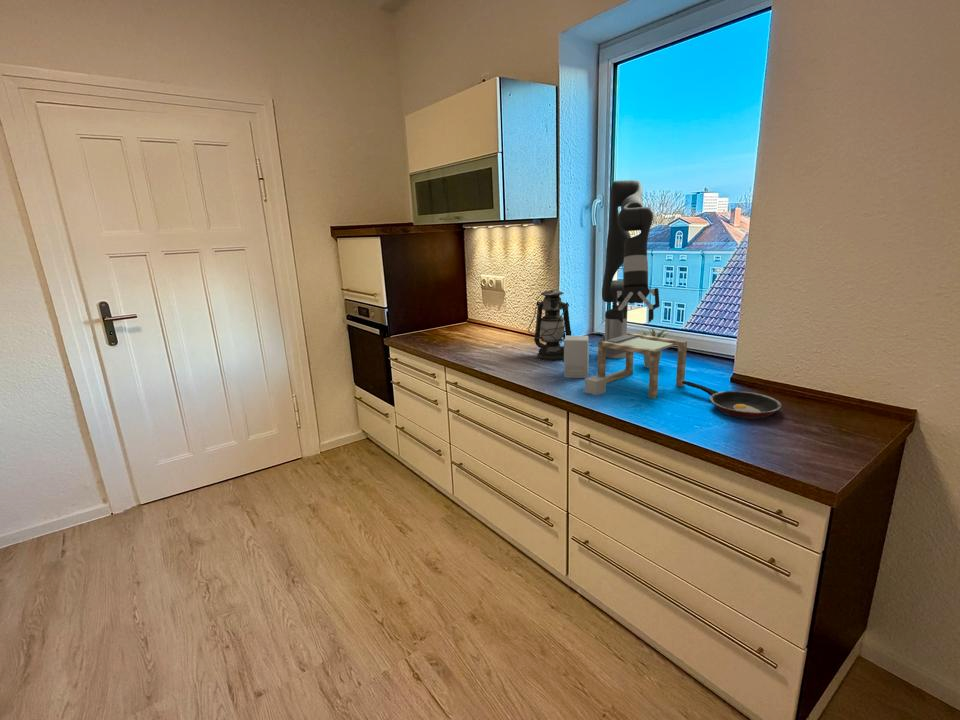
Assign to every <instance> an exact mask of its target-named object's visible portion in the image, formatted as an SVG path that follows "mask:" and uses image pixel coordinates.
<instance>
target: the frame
mask: <svg viewBox="0 0 960 720" xmlns="http://www.w3.org/2000/svg"><path fill="white" fill-rule="evenodd" d="M626 335H632V336H636V338H638V337H641V339H647V340H654V341H660V342H666V343H673V346H677V347H678V348H677V359H676V360H677V362H676V377H675V378H676V379H675V380H676V382H675V386H676V387H680V388H681V387H684V386H685V384H683V383H682V381H686V380H685V379H686V364H687V363H686V362H687V348H688V341H686V340H681V339H680V340H679V339H673V338H666V337H663V338H662V337H661V336H660V337H657V336H655V337H654V336H652V335H648V334H647V335H644V334H639V333H638V334H637V333H635V332H634V333H633V332H627V334H626ZM606 347H607V348H613V349H618V350H624V351H628V352H626V357H625V366H624V367H625V369H622V370H619V371H616V372H613V373H610V374H607V375H606V367H607V366H606V363H607V362H606V361H607V360H606V359H607V357H606ZM659 351H661V350H654V349H648V348H642V347H636V346H631V345H625V344H619V343H613V342H607V341H603V339H602V340H599V341H597V374H596V376H598V377H602V378H606V384H609V383H612V382H615V381H617V380H620V379H623V378H625V376H626V377H628V375H629V376H631V375H633V374H634V353H635V354H640V355H643V354H645V355H650V368H649V377H648V394H647V395H648V397H647V398H649V397H650V398H649V399H653V398H654V399H656V397H658V387H659V369H660V368H659V367H660V366H659V365H660V362H659ZM614 380H615V381H614Z"/></svg>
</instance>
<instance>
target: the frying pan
mask: <svg viewBox="0 0 960 720" xmlns="http://www.w3.org/2000/svg"><path fill="white" fill-rule="evenodd" d="M682 383H683V384H684V386H688V387H692V388H696V389H699V390H701V391H703V392H705V393H706V394H708V395H709V396H710V397H709V399H710V401H711V403H712V404H713V405H714V406H715V407H716V409H718V410H719V411H720V412H721V413H723V414H726V415H728V416H731V417H735V418H740V419H741V418H742V419H749V420H750V419H751V420H756V419H758V420H759V419H764V418H767V417H769V416H772V415H773V414H775V413H777V411H779V410H780V409H781V407H782V403H781V402H780V401H779V400H778V399H775V398H774V397H771V396H768V395H765V394H761V393H757V392H752V391H751V392H750V391H741V390H727V391H726V390H725V391H717V390H715V389H712V388H709V387H708V386H704V385H701V384H698V383H696V382H692V381H691V382H690V381H688V380H687V381H686V380H685V381H682Z"/></svg>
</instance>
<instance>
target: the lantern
mask: <svg viewBox="0 0 960 720" xmlns="http://www.w3.org/2000/svg"><path fill="white" fill-rule="evenodd" d="M563 294H565V292H563V291H560V290H552V289H551V290H546V291H543V292H541V293H540V295H542V296H544V297H543V300H542V301H539V300H537V301H536V306H535V309H534V315H533V317H532V319H531V322H530V324H529V327H528V330H527V332H528V333H529V334H531V335H534V337H533V342H534V343H535V345H536V346H537V347H538V353H537V354H536V359H537V358H538V359H537V360H539V359H540V360H539V361H543V360H544V362H561V360H562V361H564V345H561V344H562V342H564V339H565V337H566V336H572V329H571V321H570V313H569V306H570V304H569V302H568V301H567V302H566V303H565V302H564V301H562V298H561V296H562V295H563ZM561 310H562V313H561ZM543 311H544V316H543ZM535 316H536V322H535V330H534V331H535V332H534V333H532V332H531V331H530V329H531V326H532V324H533V321H534V319H535ZM542 342H543V343H542ZM544 342H545V343H544Z"/></svg>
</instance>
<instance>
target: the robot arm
mask: <svg viewBox="0 0 960 720" xmlns="http://www.w3.org/2000/svg"><path fill="white" fill-rule="evenodd" d="M609 195H610V196H609V220H608V221H609V222H608V231H607V239H606V250H605V253H606V254H605V266H604V276H603V280H602V288H601V297H602V301H603V302H605V303H612V307H611V308H609V309H608V310H605V313H604V333H603V334H602V341H606V340H609V339H612V338H616V337H620V336H623V335H626V334H627V333H628V332H627V331H628V305H629V304H632V305H633V304H642V303H644V304H645V305H646V307H647V308H648V323H651V322H652V321H654V316H655V315H654V312H655V311H654V310H656V309H657V308H660V296H659V295H660V294H659V293H660V291H659V288H658V287H656V288H652V289H650V288H649V261H648V239H649V233H650V230H651V226H652V224H653V220H654V212H653V210H652V209H651V208H650V207H647V206H644V204H643V187H642V183H641V182H640V181H639V180H637V179H636V180H635V179H633V180H632V179H631V180H630V179H629V180H628V179H627V180H614V181H613V182H612V183H611V186H610V194H609ZM619 208H620V210H619ZM635 231H636V232H637V231H640V233H639V234H638V235H635V236H631V234H630V232H635ZM622 266H623V267H622ZM621 267H622V274H623V275H622V278H623V279H618V280H613V279H614V278H615V277H614V276H615V275H616V273H617V271H618V270H619V269H620V268H621ZM650 294H651V295H652V296H653V297H654V304H652V303H651V302H650V300H648V299H647V297H648V296H649V295H650ZM624 358H626V352H625V353H621V354H618V355H611V354H606V359H614V360H615V359H616V360H618V359H624Z"/></svg>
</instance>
